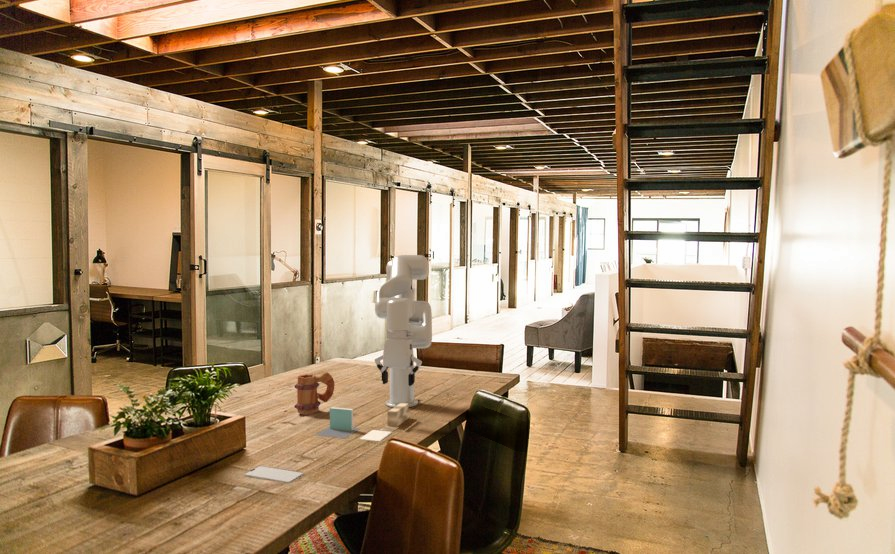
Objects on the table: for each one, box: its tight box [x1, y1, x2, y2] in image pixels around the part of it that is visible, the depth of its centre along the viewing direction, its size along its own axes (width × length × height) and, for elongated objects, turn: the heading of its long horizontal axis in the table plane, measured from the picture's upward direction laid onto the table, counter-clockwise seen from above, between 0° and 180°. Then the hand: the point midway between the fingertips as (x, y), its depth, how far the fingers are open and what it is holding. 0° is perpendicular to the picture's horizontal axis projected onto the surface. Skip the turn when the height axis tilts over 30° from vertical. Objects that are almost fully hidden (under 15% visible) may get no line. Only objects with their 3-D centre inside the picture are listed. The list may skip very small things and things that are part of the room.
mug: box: [294, 371, 336, 416], centre depth 227 cm, size 15×8×15 cm, turn 105°
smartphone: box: [243, 465, 305, 484], centre depth 166 cm, size 7×1×15 cm
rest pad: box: [359, 429, 393, 443], centre depth 198 cm, size 10×7×1 cm
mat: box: [314, 425, 361, 439], centre depth 203 cm, size 12×11×1 cm
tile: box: [329, 406, 354, 431], centre depth 205 cm, size 2×8×7 cm, turn 72°
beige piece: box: [379, 403, 410, 433], centre depth 211 cm, size 16×5×6 cm, turn 162°
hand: (398, 384), depth 212 cm, fingers open, 9 cm apart
